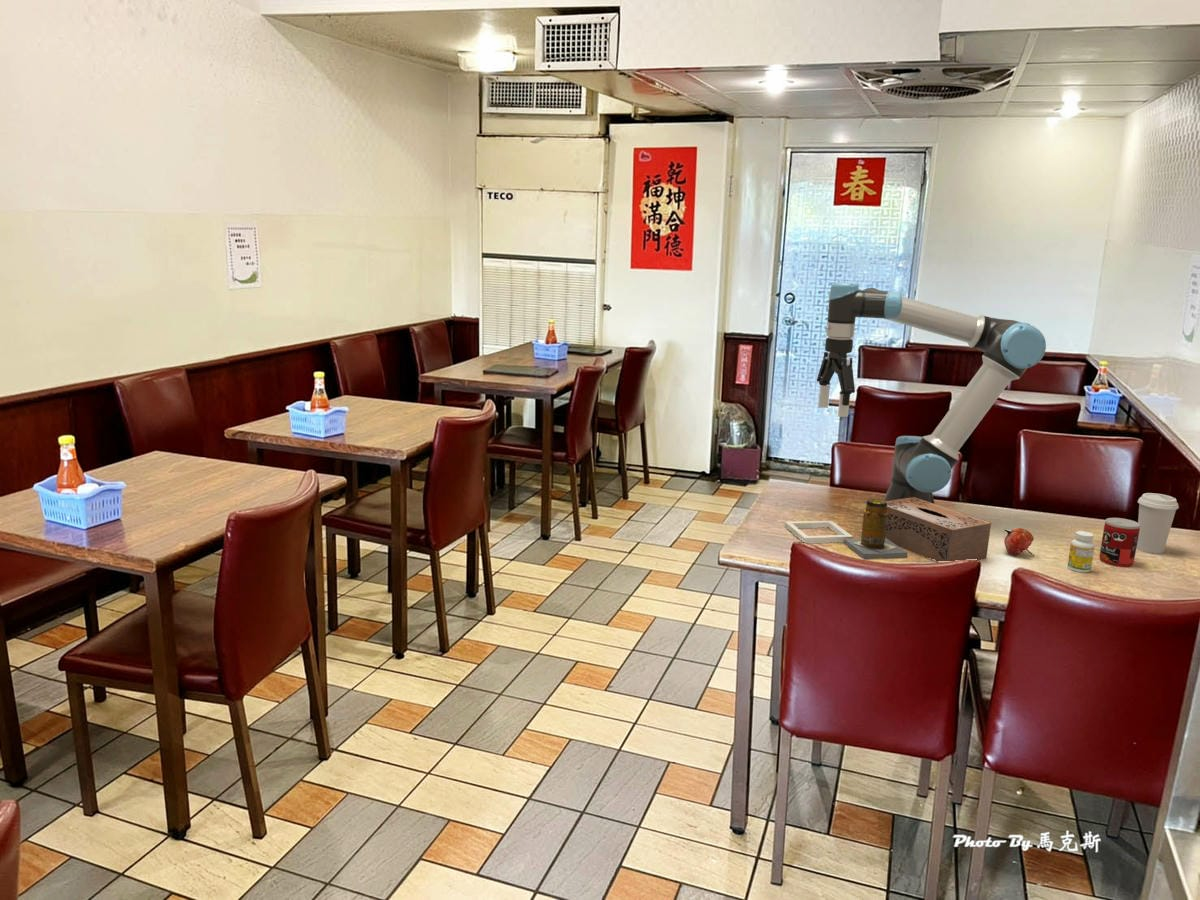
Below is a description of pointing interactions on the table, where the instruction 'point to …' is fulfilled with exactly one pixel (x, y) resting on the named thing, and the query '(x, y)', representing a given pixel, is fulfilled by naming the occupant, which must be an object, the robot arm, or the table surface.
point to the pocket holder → (816, 524)
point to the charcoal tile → (871, 553)
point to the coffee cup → (1155, 521)
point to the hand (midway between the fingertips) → (832, 412)
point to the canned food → (1119, 542)
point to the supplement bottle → (1081, 552)
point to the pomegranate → (1018, 541)
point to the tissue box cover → (936, 530)
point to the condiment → (875, 526)
